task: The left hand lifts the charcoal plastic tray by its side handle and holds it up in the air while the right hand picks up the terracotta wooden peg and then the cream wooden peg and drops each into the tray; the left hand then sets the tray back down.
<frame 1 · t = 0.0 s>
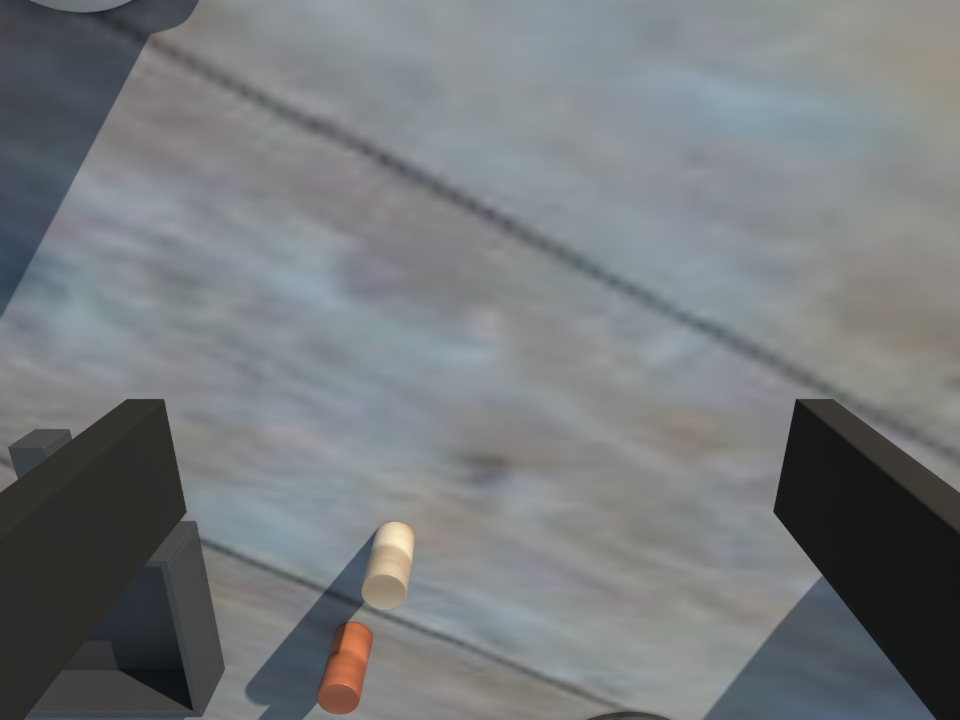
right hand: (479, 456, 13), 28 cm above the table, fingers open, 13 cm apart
tray: (119, 599, 49), on the table
cream peg: (395, 538, 47), on the table
terracotta peg: (353, 636, 50), on the table
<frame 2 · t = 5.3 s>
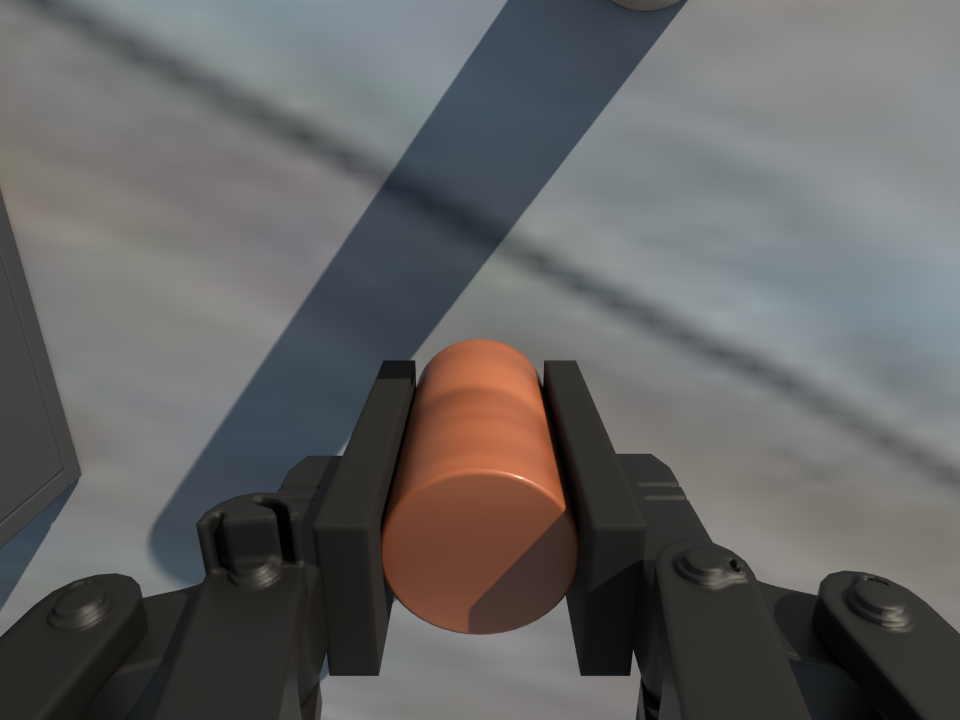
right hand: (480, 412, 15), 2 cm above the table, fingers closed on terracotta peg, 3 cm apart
terracotta peg: (479, 398, 15), point 2 cm above the table, touching right hand
when the right hand's fingers open (21 cm above the table, at t = 8.9 s): terracotta peg drops 12 cm, resting on tray.
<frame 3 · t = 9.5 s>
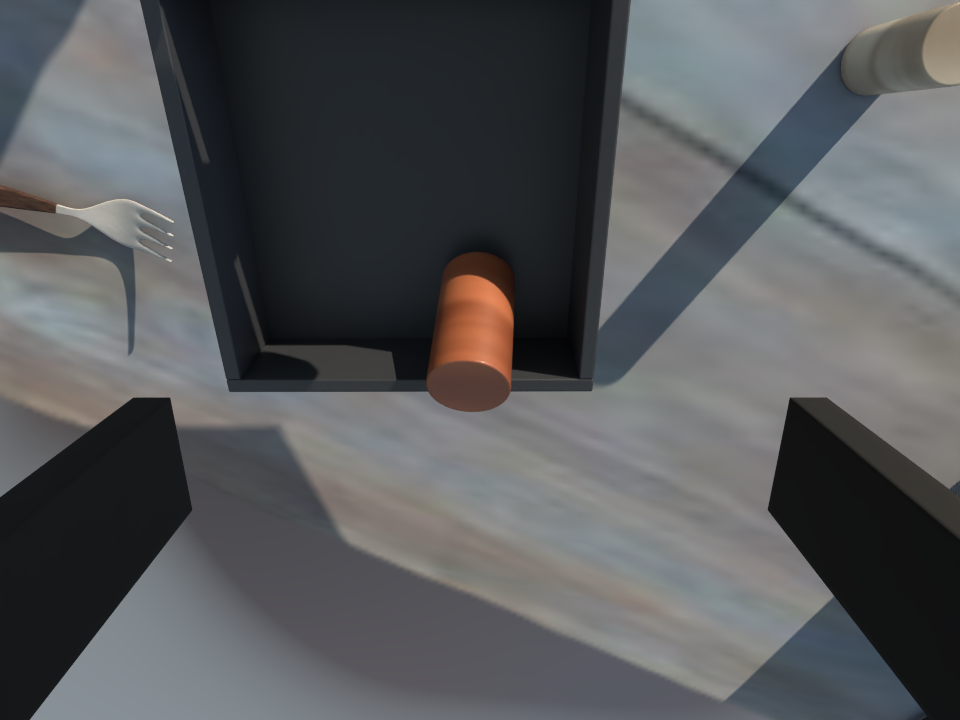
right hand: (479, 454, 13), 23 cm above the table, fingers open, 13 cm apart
fork: (44, 202, 33), on the table
tray: (411, 184, 25), point 7 cm above the table, tilted 7°, touching left hand, terracotta peg
cream peg: (871, 61, 30), on the table
terracotta peg: (478, 279, 26), point 8 cm above the table, tilted 30°, touching tray
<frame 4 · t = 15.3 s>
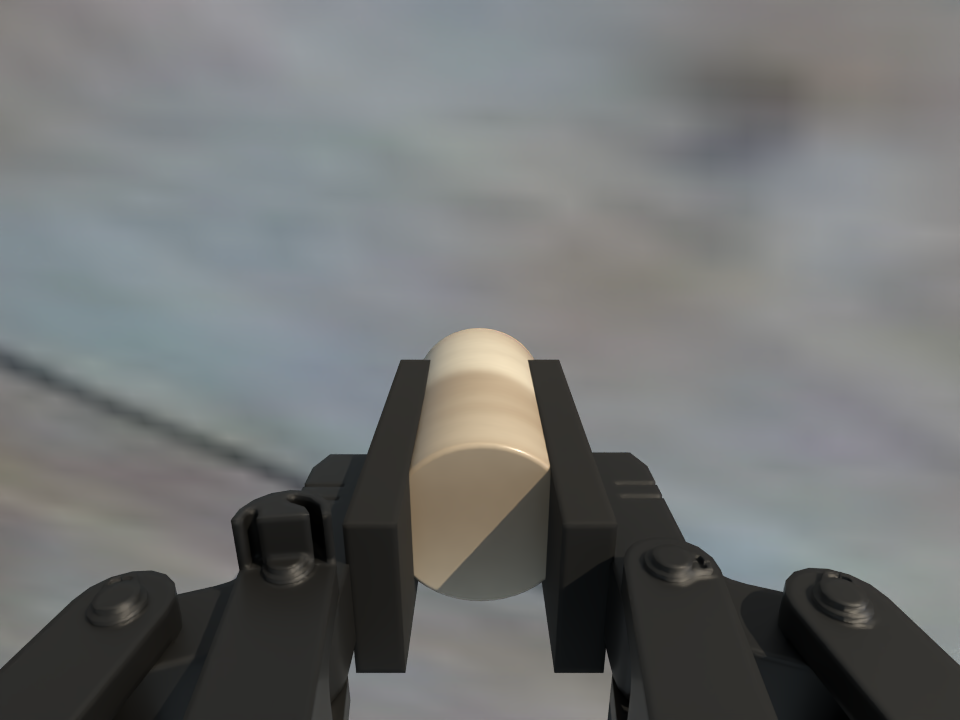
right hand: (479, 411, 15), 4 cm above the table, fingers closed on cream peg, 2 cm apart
cream peg: (478, 385, 16), point 3 cm above the table, touching right hand
when the right hand's fingers open (21 cm above the table, at t = 18.7 s): cream peg drops 12 cm and tips over, resting on tray.
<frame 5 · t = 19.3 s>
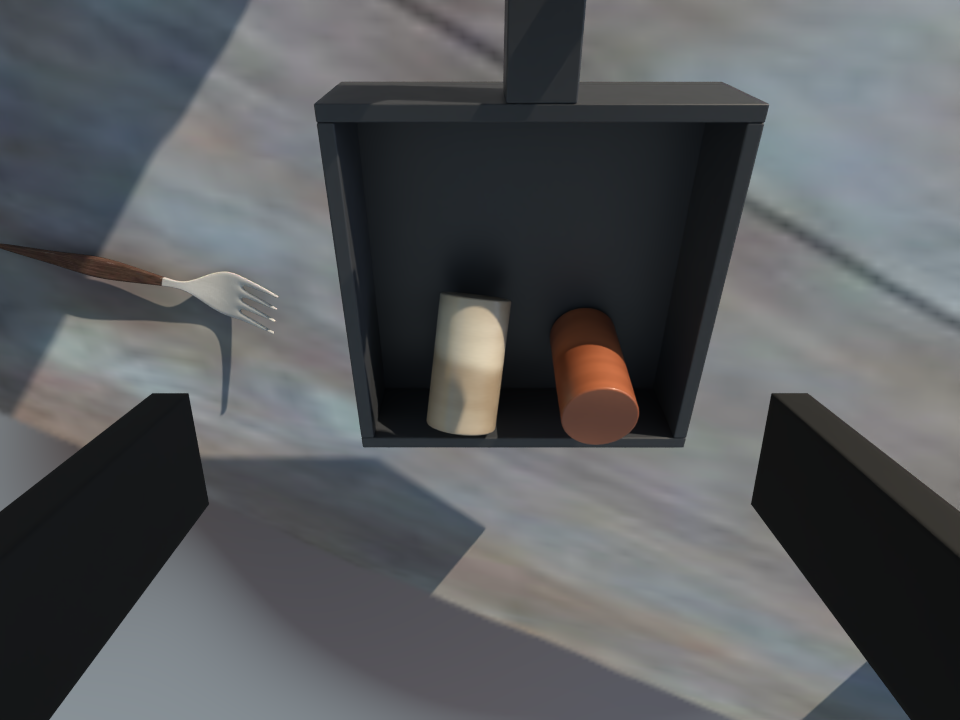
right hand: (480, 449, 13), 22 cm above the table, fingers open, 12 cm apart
fork: (149, 274, 34), on the table
tray: (523, 259, 28), point 6 cm above the table, tilted 13°, touching cream peg, left hand, terracotta peg
cream peg: (475, 296, 27), point 8 cm above the table, tilted 79°, touching tray
terracotta peg: (582, 334, 29), point 6 cm above the table, tilted 17°, touching tray
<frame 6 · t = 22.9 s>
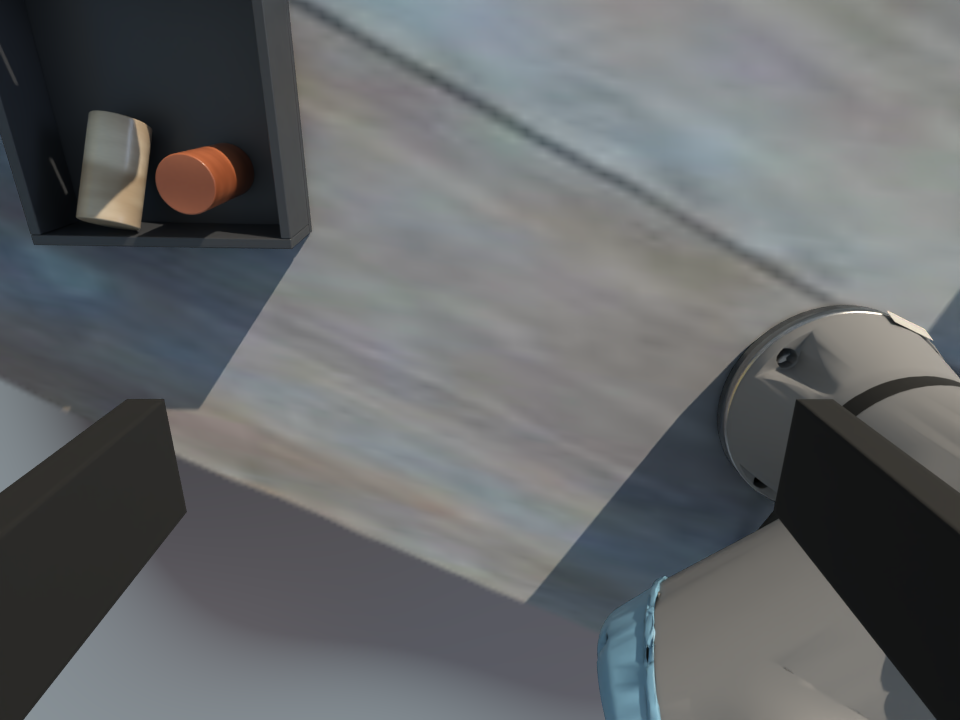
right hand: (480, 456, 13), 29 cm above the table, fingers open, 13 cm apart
tray: (173, 104, 36), point 1 cm above the table, touching cream peg, left hand, terracotta peg
cream peg: (121, 121, 35), point 3 cm above the table, tilted 71°, touching tray
terracotta peg: (228, 169, 37), point 1 cm above the table, touching tray
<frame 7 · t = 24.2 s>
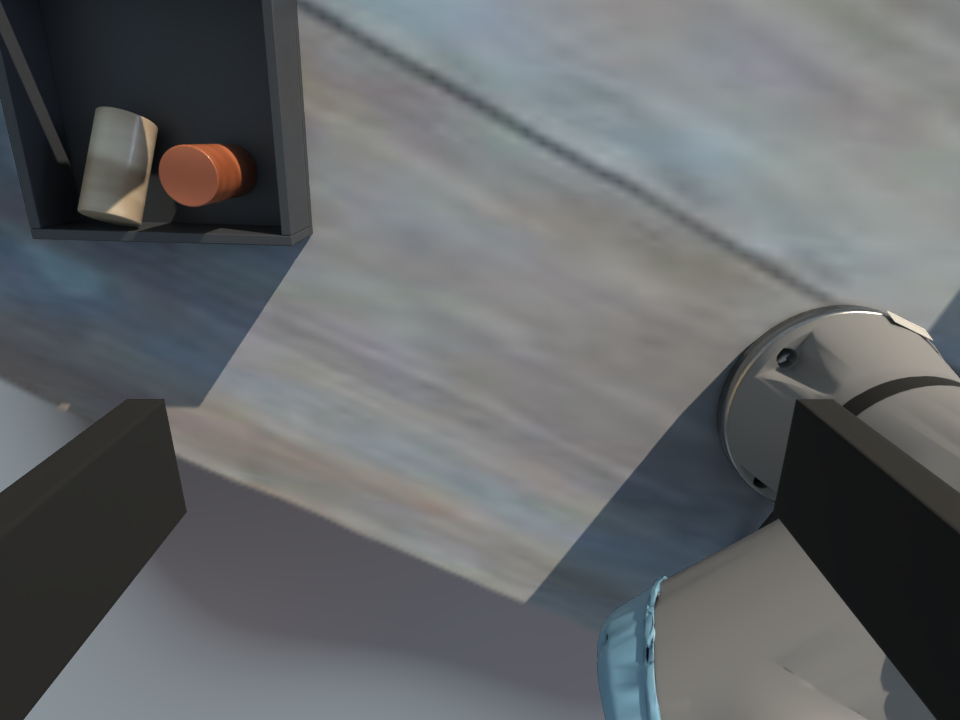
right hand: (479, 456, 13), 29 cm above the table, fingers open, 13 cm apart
tray: (180, 106, 37), on the table, touching cream peg, terracotta peg
cream peg: (127, 119, 35), point 2 cm above the table, tilted 67°, touching tray
terracotta peg: (232, 170, 37), point 1 cm above the table, touching tray
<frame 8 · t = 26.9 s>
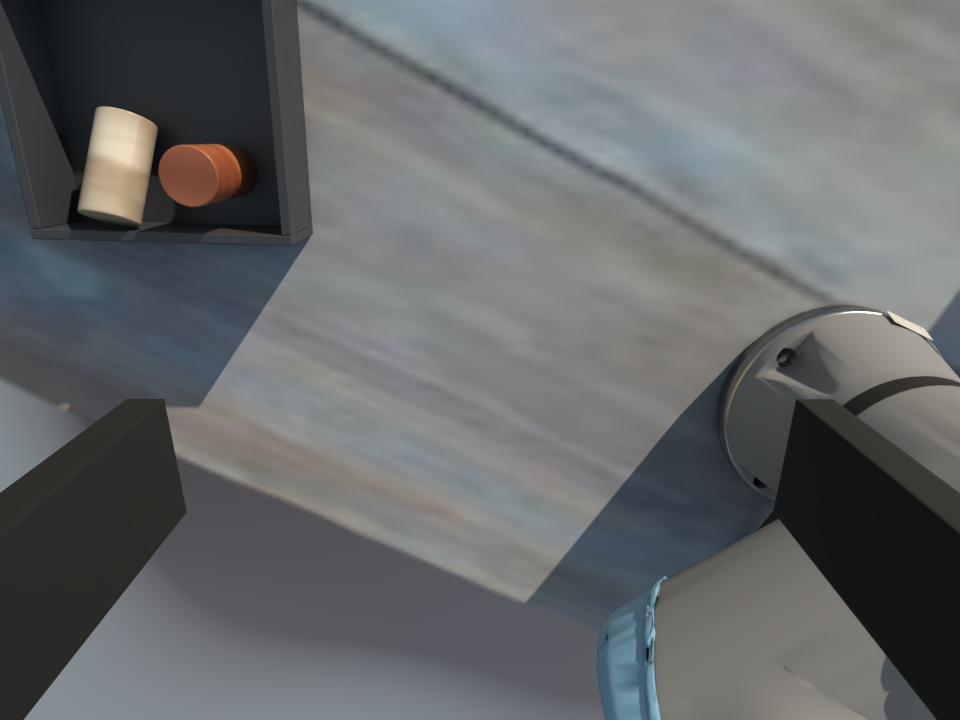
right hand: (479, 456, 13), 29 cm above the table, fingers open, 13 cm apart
tray: (180, 106, 37), on the table, touching cream peg, terracotta peg
cream peg: (127, 119, 35), point 2 cm above the table, tilted 67°, touching tray
terracotta peg: (232, 170, 37), point 1 cm above the table, touching tray
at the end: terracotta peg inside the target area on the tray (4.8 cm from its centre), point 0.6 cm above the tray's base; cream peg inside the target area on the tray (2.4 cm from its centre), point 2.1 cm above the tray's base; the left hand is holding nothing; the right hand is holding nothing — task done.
